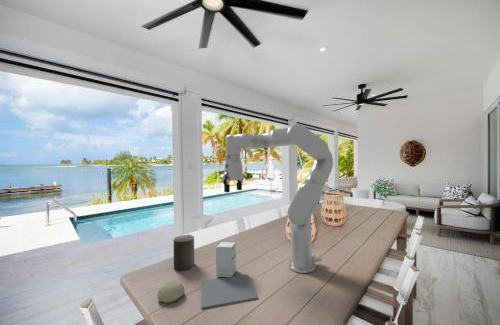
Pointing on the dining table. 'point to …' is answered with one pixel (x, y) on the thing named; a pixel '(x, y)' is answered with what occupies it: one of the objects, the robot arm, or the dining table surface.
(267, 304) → the dining table surface
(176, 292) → the sea urchin shell
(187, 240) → the pillar candle
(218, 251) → the supplement box
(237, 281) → the charcoal mat
